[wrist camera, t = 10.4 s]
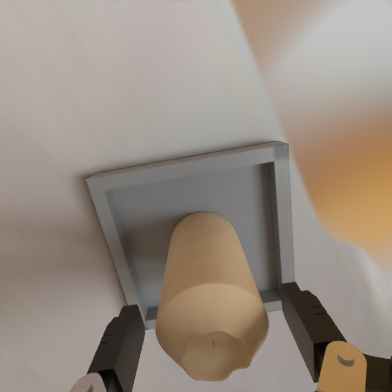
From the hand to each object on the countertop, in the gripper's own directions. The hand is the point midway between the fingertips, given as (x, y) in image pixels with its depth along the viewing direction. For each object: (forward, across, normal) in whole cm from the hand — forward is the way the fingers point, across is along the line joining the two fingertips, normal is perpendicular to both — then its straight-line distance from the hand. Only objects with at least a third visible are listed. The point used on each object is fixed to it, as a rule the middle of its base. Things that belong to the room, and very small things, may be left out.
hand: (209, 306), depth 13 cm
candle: (+7, 0, 0) cm, 7 cm away
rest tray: (+8, 0, 0) cm, 8 cm away
